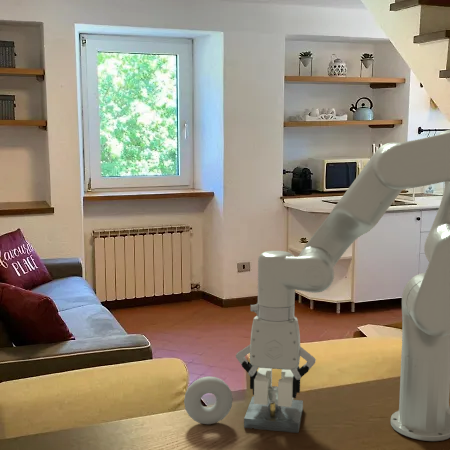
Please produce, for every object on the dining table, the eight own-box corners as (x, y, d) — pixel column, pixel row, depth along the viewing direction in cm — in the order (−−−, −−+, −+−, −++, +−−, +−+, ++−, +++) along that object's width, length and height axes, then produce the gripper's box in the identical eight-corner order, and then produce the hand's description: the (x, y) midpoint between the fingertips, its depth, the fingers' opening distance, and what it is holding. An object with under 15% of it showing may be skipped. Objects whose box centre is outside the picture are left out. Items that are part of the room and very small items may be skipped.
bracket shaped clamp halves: (291, 407, 127) (291, 383, 126) (253, 403, 128) (254, 380, 127) (294, 392, 134) (295, 369, 133) (259, 389, 135) (259, 366, 135)
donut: (231, 418, 132) (231, 372, 130) (233, 425, 128) (234, 379, 127) (183, 421, 130) (183, 375, 129) (184, 428, 127) (184, 381, 126)
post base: (302, 409, 136) (303, 380, 135) (298, 432, 125) (299, 401, 124) (252, 405, 138) (252, 376, 137) (244, 427, 127) (244, 397, 127)
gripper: (230, 314, 126) (230, 397, 129) (318, 319, 123) (316, 405, 126) (237, 304, 134) (236, 383, 136) (319, 309, 130) (318, 390, 133)
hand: (274, 393), depth 131 cm, fingers closed on bracket shaped clamp halves, 7 cm apart
